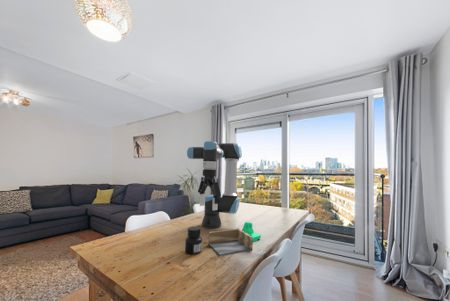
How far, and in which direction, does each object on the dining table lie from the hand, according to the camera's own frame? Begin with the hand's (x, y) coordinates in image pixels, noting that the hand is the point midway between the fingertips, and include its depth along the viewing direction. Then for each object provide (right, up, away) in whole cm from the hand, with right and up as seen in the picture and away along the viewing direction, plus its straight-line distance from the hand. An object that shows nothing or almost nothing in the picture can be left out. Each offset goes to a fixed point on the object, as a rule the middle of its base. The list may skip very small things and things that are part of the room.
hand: (208, 207), depth 110 cm
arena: (+12, -24, +4) cm, 27 cm away
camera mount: (+26, -25, +17) cm, 40 cm away
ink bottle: (-8, -23, -3) cm, 24 cm away
